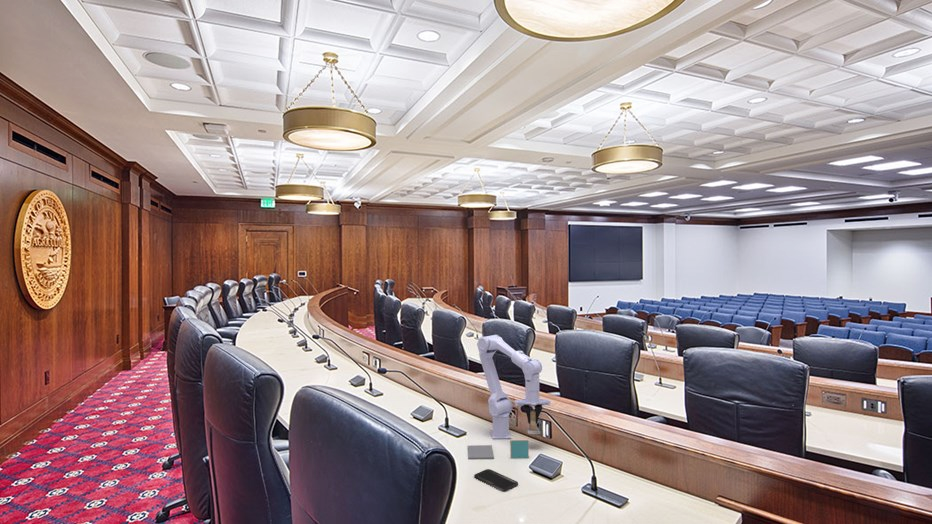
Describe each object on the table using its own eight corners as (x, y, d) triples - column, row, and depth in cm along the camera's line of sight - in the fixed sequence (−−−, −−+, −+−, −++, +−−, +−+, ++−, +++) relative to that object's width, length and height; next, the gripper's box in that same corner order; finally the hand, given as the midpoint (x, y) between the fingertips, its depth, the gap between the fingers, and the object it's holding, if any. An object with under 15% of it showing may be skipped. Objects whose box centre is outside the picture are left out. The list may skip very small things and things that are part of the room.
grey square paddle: (526, 429, 186) (526, 410, 187) (538, 429, 187) (538, 410, 187) (528, 433, 182) (527, 414, 182) (540, 433, 182) (540, 413, 182)
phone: (488, 468, 164) (519, 482, 153) (488, 471, 164) (519, 485, 153) (472, 475, 159) (503, 490, 148) (472, 478, 159) (503, 493, 148)
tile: (510, 457, 176) (510, 439, 176) (528, 456, 176) (527, 438, 176) (510, 458, 174) (510, 440, 174) (528, 458, 174) (528, 440, 175)
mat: (467, 447, 186) (467, 445, 186) (491, 446, 186) (491, 445, 186) (468, 459, 174) (468, 457, 174) (494, 458, 174) (494, 457, 174)
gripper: (516, 392, 181) (516, 426, 181) (551, 392, 182) (552, 426, 182) (514, 388, 188) (514, 420, 188) (548, 387, 189) (548, 420, 189)
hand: (532, 422), depth 185 cm, fingers closed on grey square paddle, 2 cm apart
